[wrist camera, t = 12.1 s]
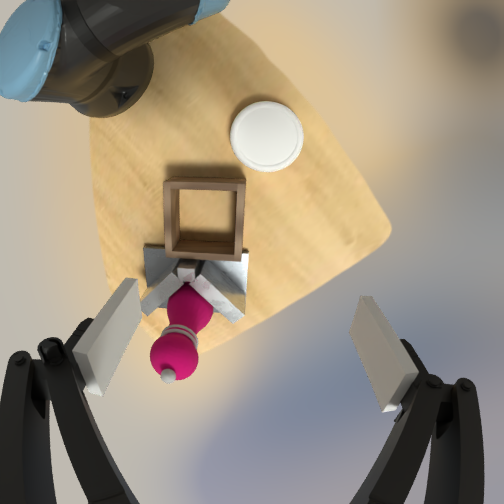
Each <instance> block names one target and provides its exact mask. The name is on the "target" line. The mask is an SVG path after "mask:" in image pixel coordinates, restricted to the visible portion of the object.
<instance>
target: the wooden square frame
mask: <svg viewBox="0 0 504 504" xmlns="http://www.w3.org/2000/svg"><path fill="white" fill-rule="evenodd" d="M179 189H192V190H221V191H237V207H236V229H235V242H217V241H198V240H180V219H179ZM245 190H246V179H234V178H208V177H172V178H170V179H168V180H166V181H164V182H163V195H164V232H165V252H166V257H168V258H184V259H200V260H217V261H235V262H241V259H242V245H243V226H244V208H245Z"/></svg>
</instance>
